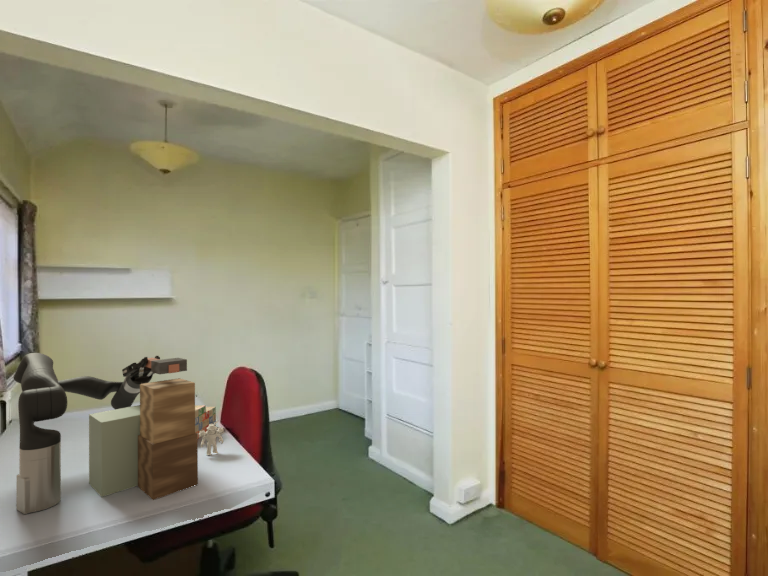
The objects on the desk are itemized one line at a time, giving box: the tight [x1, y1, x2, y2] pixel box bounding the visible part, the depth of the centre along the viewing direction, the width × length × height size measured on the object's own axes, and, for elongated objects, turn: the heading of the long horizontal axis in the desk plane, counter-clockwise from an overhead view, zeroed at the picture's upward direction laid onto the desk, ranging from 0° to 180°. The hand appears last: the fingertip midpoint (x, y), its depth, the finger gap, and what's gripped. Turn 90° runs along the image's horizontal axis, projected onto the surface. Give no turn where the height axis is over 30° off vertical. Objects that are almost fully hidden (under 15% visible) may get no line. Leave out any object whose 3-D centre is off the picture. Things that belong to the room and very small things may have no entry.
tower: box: [137, 377, 199, 501], centre depth 132 cm, size 13×13×32 cm
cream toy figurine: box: [198, 419, 225, 456], centre depth 159 cm, size 9×4×12 cm, turn 127°
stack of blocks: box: [195, 404, 217, 439], centre depth 182 cm, size 21×6×12 cm, turn 175°
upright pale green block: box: [88, 404, 140, 498], centre depth 139 cm, size 14×24×22 cm, turn 137°
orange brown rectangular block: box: [145, 357, 188, 375], centre depth 137 cm, size 23×8×4 cm, turn 47°
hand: (152, 358), depth 141 cm, fingers closed on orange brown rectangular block, 3 cm apart
